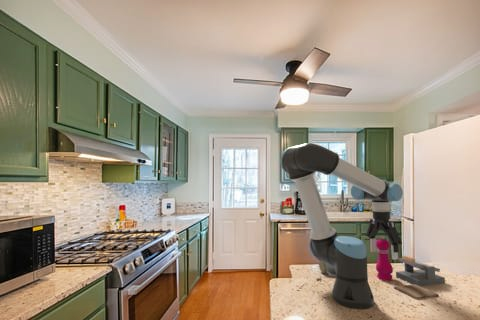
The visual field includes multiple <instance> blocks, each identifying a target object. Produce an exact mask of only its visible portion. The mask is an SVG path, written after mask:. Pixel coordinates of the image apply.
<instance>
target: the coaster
mask: <svg viewBox="0 0 480 320" xmlns="http://www.w3.org/2000/svg"><path fill="white" fill-rule="evenodd" d="M393 289H394V290H396V291H398V292H400V293H402V294H405V295H406V296H408V297H410V298H411V299H412V298H413V299H415V300H421V299H422V300H424V299H428V298H431V299H432V298H438V297H440V294H439V293H436V292H434V291H431V290H429V289H427V288H425V287H423V286H418V285H415V284H414V285H413V284H407V285H399V286H398V285H397V286H393Z"/></svg>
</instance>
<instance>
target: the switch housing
mask: <svg viewBox="0 0 480 320" xmlns="http://www.w3.org/2000/svg"><path fill="white" fill-rule="evenodd" d="M403 263H404V262H403ZM403 266H404V270H401V271H395V276H396V277H395V278H397V279H399V278H400V280H402V281H404V282H406V281H407V282H406V283H409V284H410V285H414V284H415V285H418V286H420V287H424V286H433V285H442V284H446V278H445V276H442V275H439V274H437V273H436V271H435V266H434V265H429V266H426V267H425V271H424V270H421V269H414V267H413V266H410V265H409V264H406V263H404V265H403Z"/></svg>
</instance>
